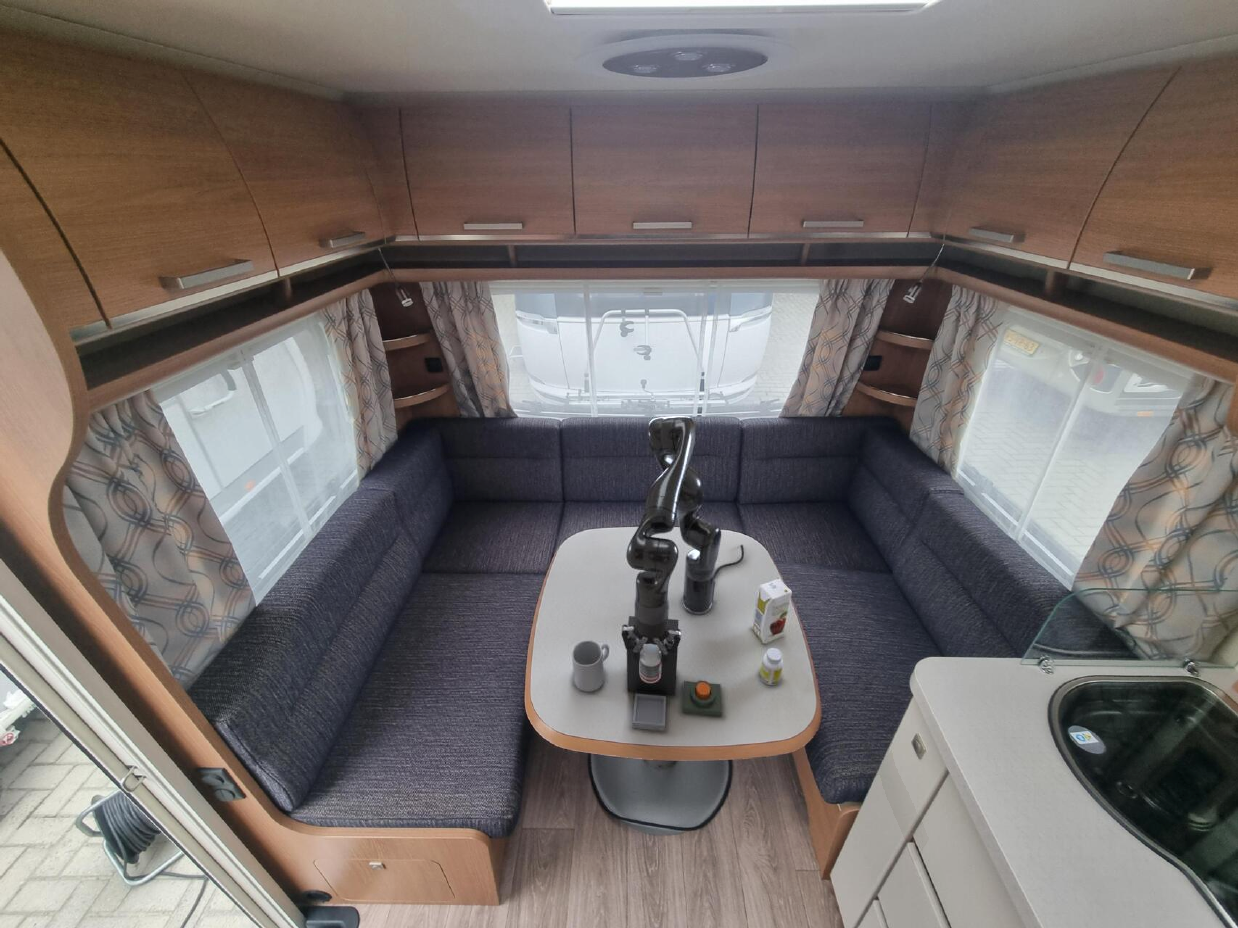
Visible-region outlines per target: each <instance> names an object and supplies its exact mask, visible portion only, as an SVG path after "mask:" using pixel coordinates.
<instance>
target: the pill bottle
mask: <svg viewBox="0 0 1238 928" xmlns="http://www.w3.org/2000/svg"><path fill="white" fill-rule="evenodd" d="M661 665H662V654H661V652H660V651H659V648H658V646H657V645H653V644H644V645H643V649H642V650H641V652H640V655H639V673H640V677H641V679H642V680H643V681H645V682H647V683H655V682H657V681H658V680H659V679H660V677H661Z"/></svg>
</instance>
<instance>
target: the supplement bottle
mask: <svg viewBox="0 0 1238 928" xmlns="http://www.w3.org/2000/svg"><path fill="white" fill-rule="evenodd" d="M760 667H761V668H760V672H759V676H760V679H761V680H762V681H763V683H765V684H766V685H769V686H776V685H777V684H778V683H779V682H780V679H781V675H782V672H783V667H784V661H783V654H782V651H780V650H779V649H778V648H775V647H770V648H768V649H767V650H766V653H765V654H764V655H763V657H762V662H761V666H760Z"/></svg>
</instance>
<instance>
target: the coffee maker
mask: <svg viewBox="0 0 1238 928" xmlns="http://www.w3.org/2000/svg"><path fill="white" fill-rule="evenodd" d="M679 621H680V620H679V619H672V618H668V627H669V629H670V630H673V631H675V630H676V629H679ZM634 625H635V615H629V616H628V622H627V626H628V627H633V626H634ZM636 638H637V637H636V636H635V635H634V634H633V633H631V639H632V641H635V640H636ZM666 641H667V643H668V644H671V642H672V639H671V636H669V637H667V638H666ZM642 649H643V647H642V648H640V652H641V650H642ZM678 650H679V647H678V648H677V651H676V653H675V654H672V653H668V661H667V662H664V664H662V665H661V677H660V679H659V680H658V681H657V682H655V683H647V682H645V681H643V680H642V679H641V677H640V673H639V662H636V659H634V658H633V650H632V649H630V650H627V649H626V685H627V686H626V687H627V689H626V690H627V692H631V693H632V692H633V693H635V695H634V705H633V706H634V707H633V715H632V716H633V717H632V728H633V729H639V730H651V731H660V732H666V730H665V729H666V710H667V709H666V708H667V707H666V706H667V696H673V697H675V696H676V683H677V670H678V669H677V665H678V654H679V653H678V652H679V651H678ZM659 651H660V652H661V654H662V651H661V650H660V649H659Z"/></svg>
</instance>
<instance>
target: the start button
mask: <svg viewBox="0 0 1238 928" xmlns="http://www.w3.org/2000/svg"><path fill="white" fill-rule="evenodd" d="M696 694H697V696H698V697H700V698H702V699H705V698H708V697H709V695H710V687H709V685H708V684H706V683H704V682H701V683H699V684H698V685H697V687H696Z"/></svg>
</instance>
